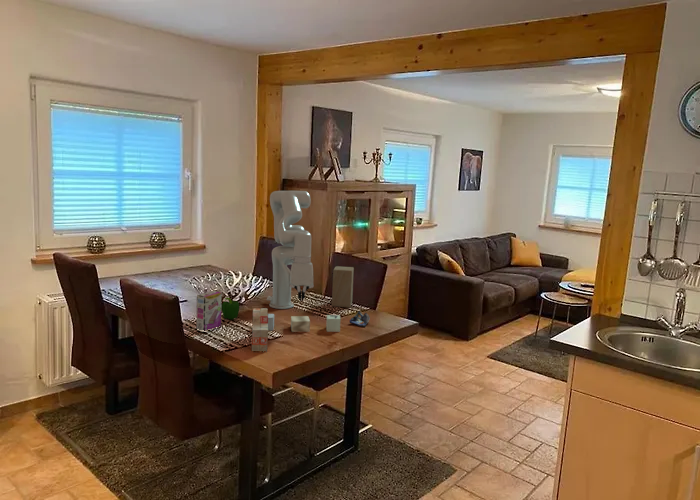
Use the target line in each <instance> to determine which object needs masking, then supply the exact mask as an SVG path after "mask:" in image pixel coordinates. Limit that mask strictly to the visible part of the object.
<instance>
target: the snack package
mask: <svg viewBox="0 0 700 500" xmlns="http://www.w3.org/2000/svg"><path fill="white" fill-rule="evenodd" d="M370 319H371V318H370V315H369V314H368V313H367V312H364V314H363V313H362V312H361V311H360V310H358V311H357V313H356V314H355V315H354V316H353V317H351V318H350V319H349V323H350V324H353V325H354V324H355V325H356V326H357V327H360V328H362V327H363V328H366V327H367V324H368V323H369V322H370Z"/></svg>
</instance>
